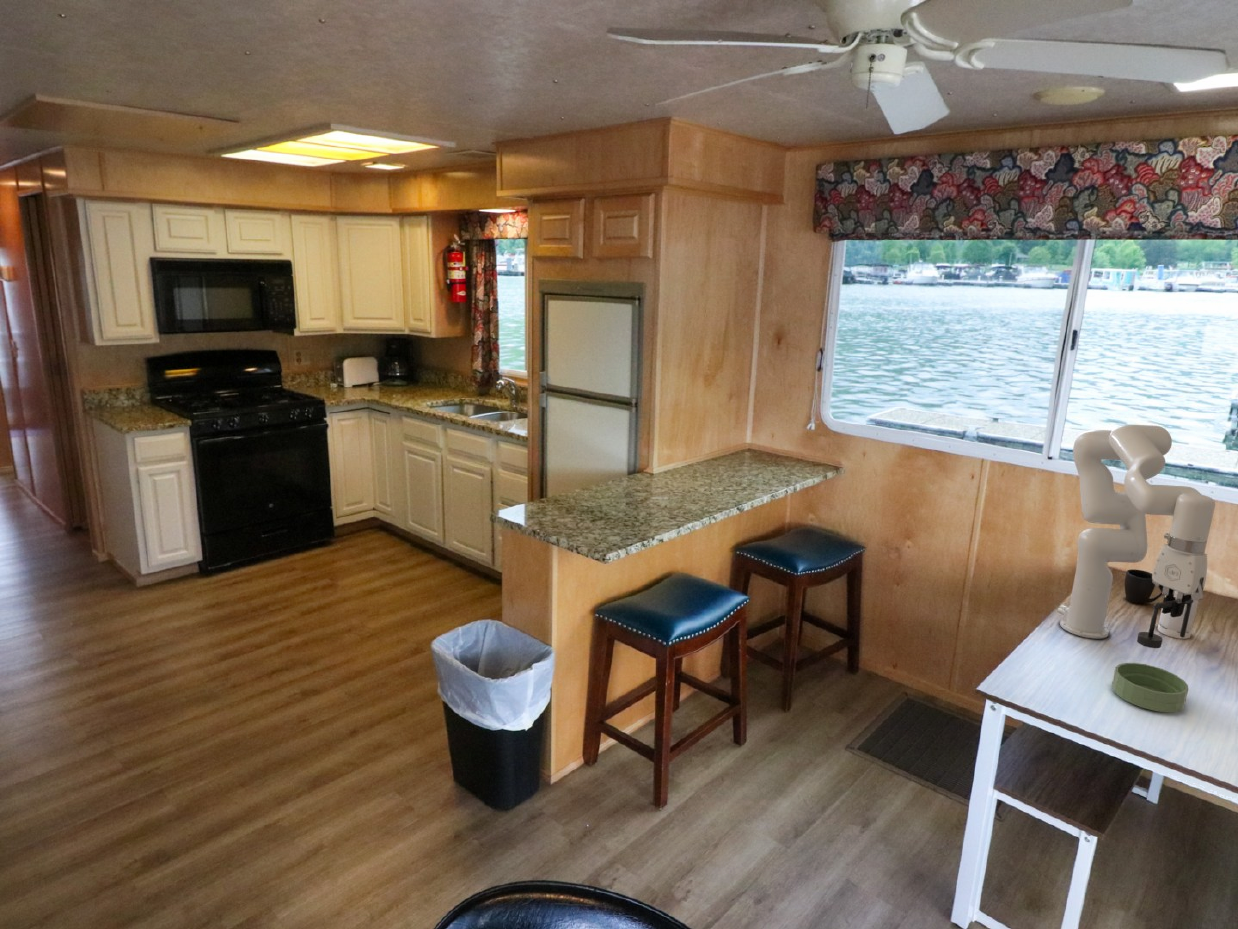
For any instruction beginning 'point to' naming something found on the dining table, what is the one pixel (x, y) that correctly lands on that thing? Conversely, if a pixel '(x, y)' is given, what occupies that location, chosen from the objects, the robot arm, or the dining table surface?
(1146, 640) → the ladle
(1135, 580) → the mug
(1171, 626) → the bottle
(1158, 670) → the bowl
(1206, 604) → the dining table surface
